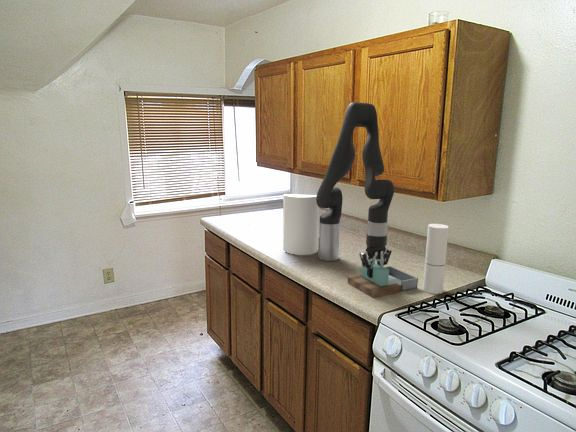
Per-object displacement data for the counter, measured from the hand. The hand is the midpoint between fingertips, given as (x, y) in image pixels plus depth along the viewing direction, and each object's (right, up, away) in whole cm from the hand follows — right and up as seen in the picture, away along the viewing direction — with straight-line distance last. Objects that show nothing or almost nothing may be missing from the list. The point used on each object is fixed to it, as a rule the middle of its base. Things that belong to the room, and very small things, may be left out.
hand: (374, 276), depth 158 cm
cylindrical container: (+22, -5, -1) cm, 22 cm away
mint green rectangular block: (0, -2, 0) cm, 2 cm away
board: (0, -4, +1) cm, 4 cm away
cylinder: (-27, +6, +48) cm, 55 cm away
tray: (+9, -3, +6) cm, 12 cm away
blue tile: (+5, -2, -1) cm, 6 cm away
